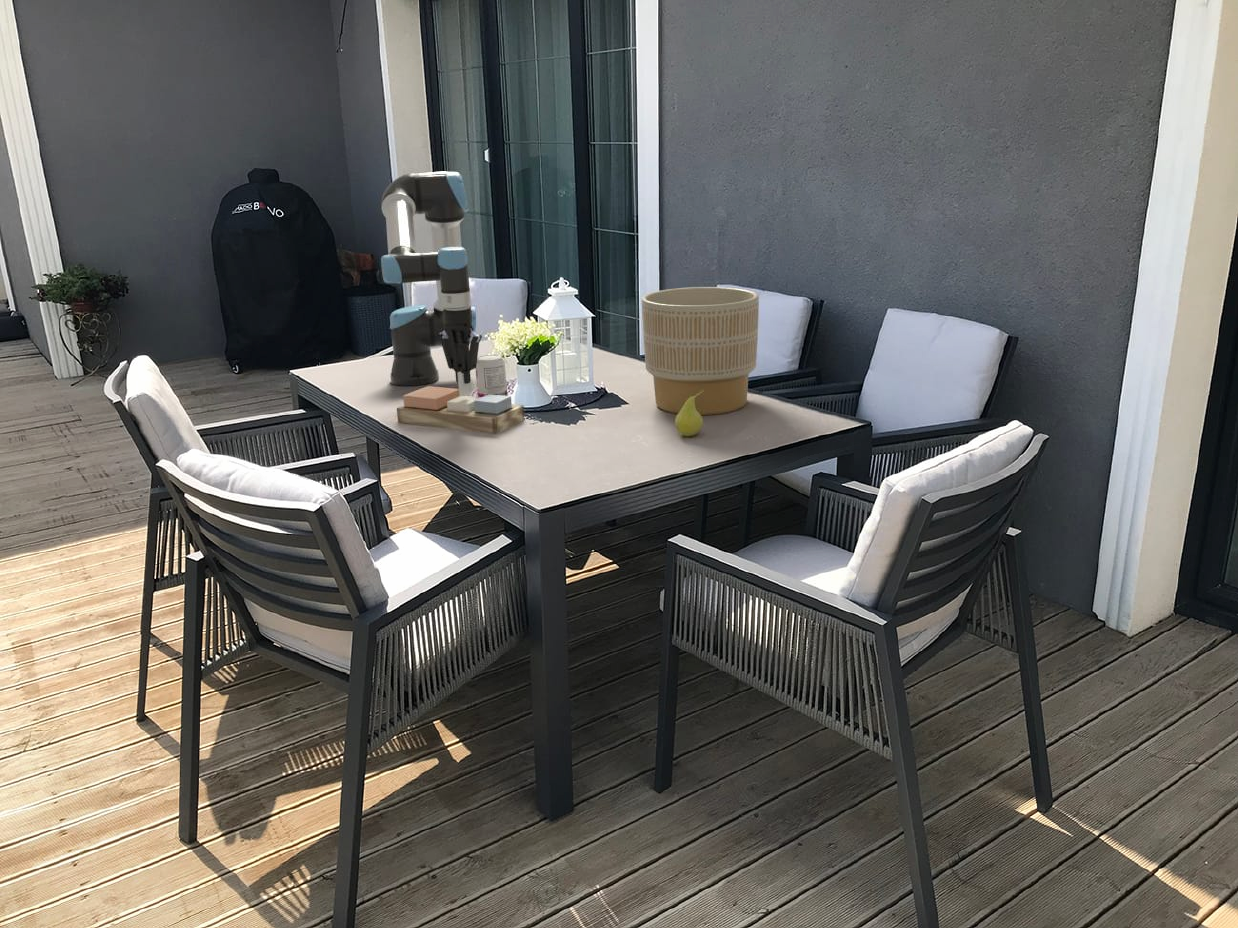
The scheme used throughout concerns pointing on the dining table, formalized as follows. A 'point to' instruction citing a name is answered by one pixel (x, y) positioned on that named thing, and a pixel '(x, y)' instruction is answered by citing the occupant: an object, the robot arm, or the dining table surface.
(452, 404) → the key ivory
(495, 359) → the supplement can
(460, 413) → the wooden compartment tray
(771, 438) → the dining table surface
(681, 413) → the fruit
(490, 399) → the key slate
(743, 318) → the planter
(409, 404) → the key terracotta
